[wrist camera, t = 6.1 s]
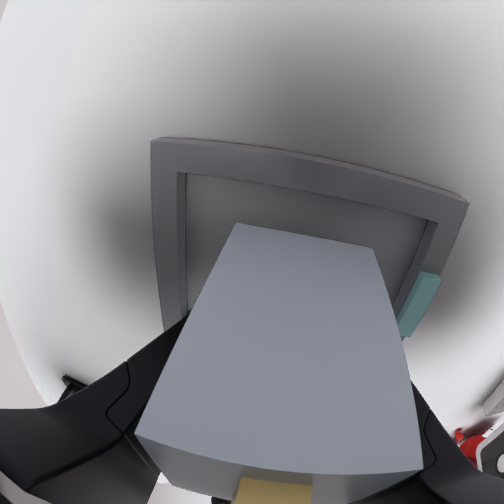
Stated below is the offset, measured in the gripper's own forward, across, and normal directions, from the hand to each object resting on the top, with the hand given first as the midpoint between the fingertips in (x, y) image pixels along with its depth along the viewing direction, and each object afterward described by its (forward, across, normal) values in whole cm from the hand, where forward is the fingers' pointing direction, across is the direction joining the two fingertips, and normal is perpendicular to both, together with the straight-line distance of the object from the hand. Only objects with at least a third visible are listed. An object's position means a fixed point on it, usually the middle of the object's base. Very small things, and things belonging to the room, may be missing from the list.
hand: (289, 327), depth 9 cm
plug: (+2, 0, 0) cm, 2 cm away
